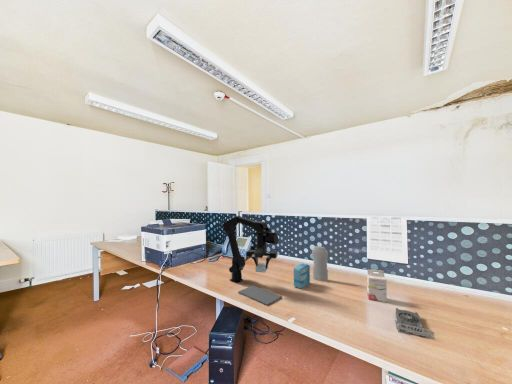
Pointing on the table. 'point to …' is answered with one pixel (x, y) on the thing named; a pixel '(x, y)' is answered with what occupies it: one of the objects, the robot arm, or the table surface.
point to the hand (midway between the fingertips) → (261, 268)
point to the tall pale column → (320, 263)
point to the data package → (301, 275)
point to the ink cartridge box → (376, 286)
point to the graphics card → (411, 324)
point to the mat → (260, 295)
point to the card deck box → (261, 267)
